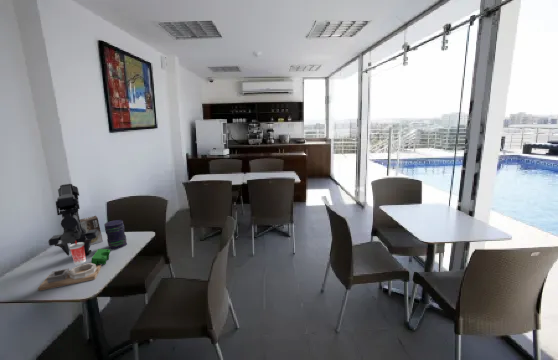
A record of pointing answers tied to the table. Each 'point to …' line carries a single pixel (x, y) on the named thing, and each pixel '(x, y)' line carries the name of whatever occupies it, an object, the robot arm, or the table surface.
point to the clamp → (100, 256)
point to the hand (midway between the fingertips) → (78, 253)
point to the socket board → (68, 280)
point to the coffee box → (92, 227)
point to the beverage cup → (78, 252)
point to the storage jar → (115, 234)
